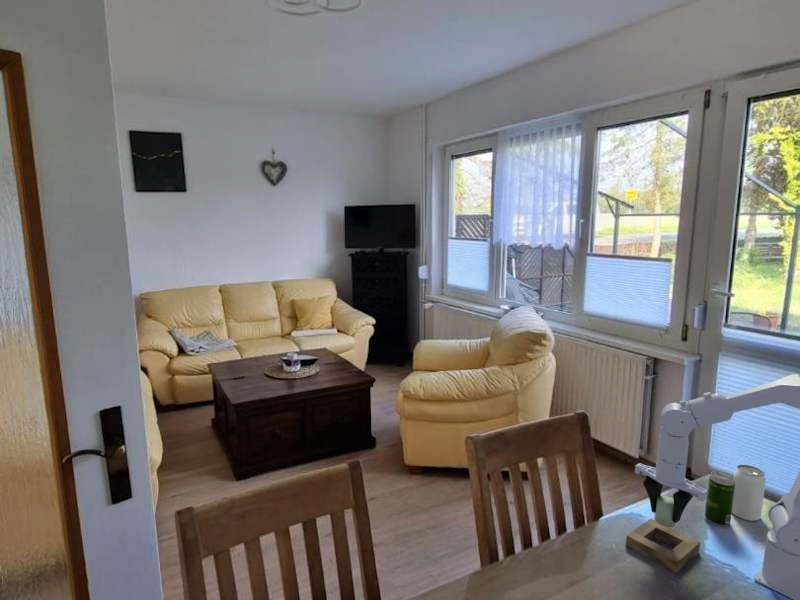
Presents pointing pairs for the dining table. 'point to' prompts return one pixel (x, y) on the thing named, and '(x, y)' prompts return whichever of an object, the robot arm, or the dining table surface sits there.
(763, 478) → the can
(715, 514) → the beer can
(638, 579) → the dining table surface
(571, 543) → the dining table surface
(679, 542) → the socket
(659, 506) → the peg
